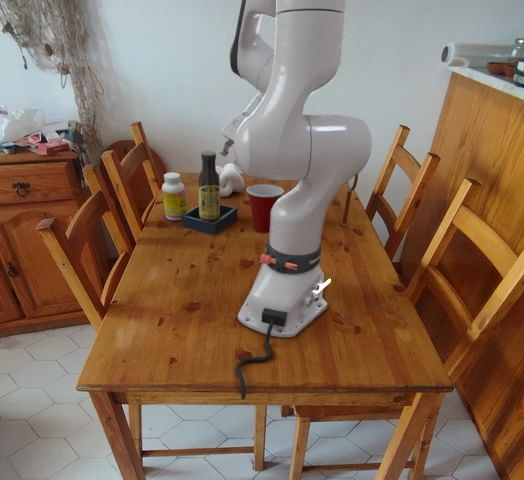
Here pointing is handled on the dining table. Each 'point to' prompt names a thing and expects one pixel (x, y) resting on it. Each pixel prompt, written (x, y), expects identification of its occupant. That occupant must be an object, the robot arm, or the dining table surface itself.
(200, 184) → the sauce bottle
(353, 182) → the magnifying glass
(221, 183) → the white knot sculpture
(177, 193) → the supplement bottle
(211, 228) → the tray
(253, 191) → the plastic cup
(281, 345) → the dining table surface
